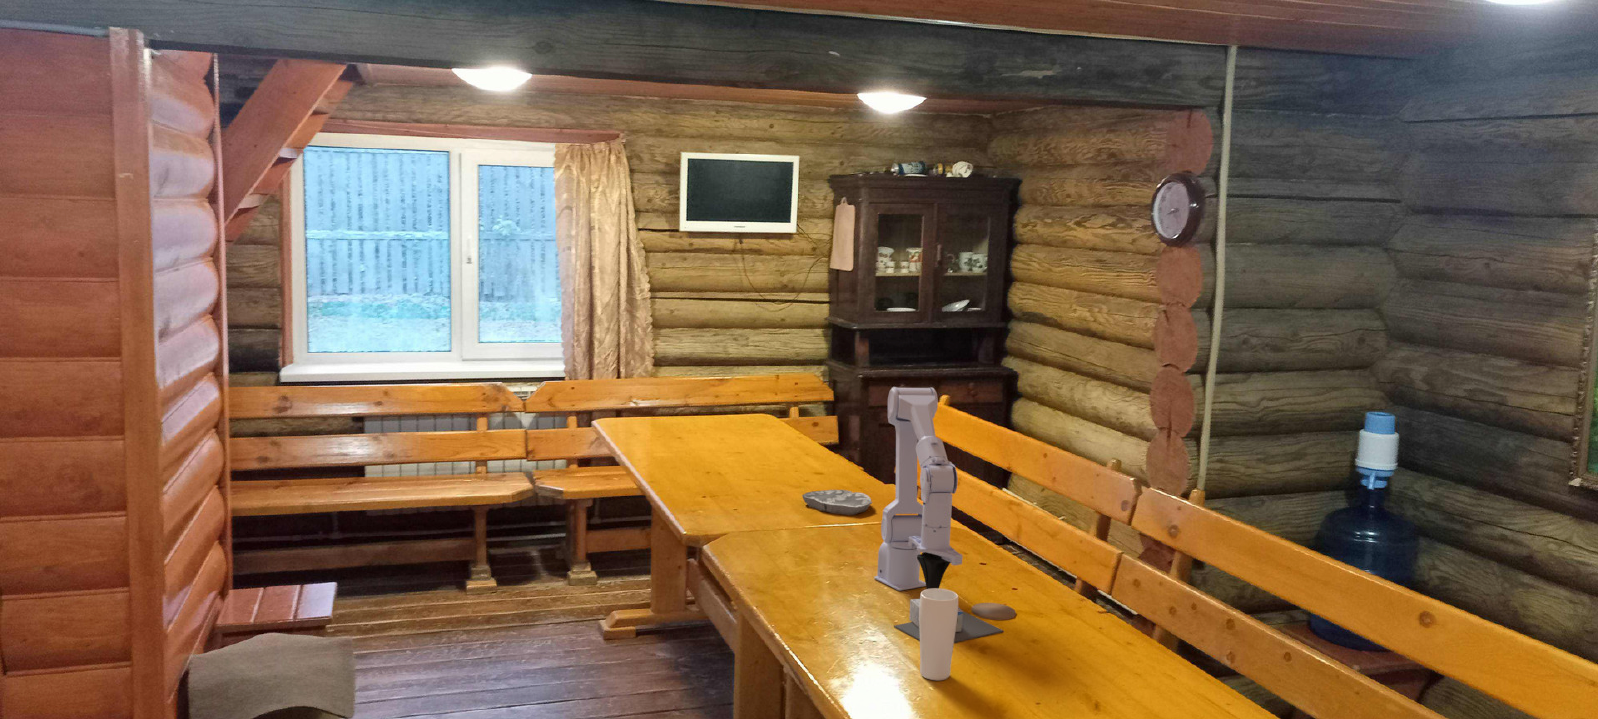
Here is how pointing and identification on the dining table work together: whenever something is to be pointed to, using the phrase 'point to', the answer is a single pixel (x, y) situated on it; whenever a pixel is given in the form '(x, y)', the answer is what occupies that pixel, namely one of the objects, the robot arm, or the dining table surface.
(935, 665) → the drinking glass
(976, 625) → the mat
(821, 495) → the brain slice
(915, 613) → the medicine box
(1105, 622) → the dining table surface
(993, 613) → the walnut coaster
